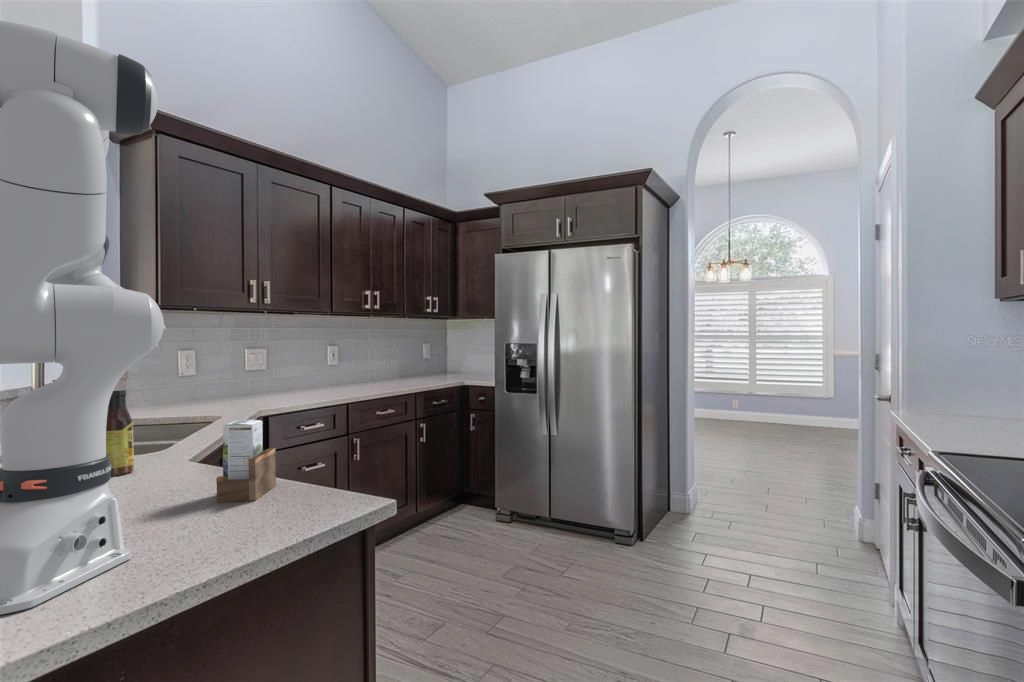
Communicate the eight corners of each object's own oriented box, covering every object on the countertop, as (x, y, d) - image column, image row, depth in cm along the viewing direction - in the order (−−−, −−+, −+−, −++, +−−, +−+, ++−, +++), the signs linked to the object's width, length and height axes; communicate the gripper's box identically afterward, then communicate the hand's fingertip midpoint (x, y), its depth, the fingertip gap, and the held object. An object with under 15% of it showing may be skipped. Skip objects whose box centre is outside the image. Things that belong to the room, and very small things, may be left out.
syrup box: (234, 490, 110) (232, 420, 110) (264, 488, 110) (262, 419, 110) (222, 498, 104) (221, 424, 104) (254, 496, 105) (252, 423, 105)
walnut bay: (256, 500, 102) (255, 459, 102) (216, 502, 101) (215, 460, 101) (276, 485, 113) (275, 448, 113) (240, 487, 112) (239, 449, 112)
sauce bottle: (136, 473, 126) (134, 389, 126) (103, 478, 121) (101, 391, 121) (131, 468, 130) (130, 388, 130) (99, 473, 126) (98, 390, 126)
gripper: (70, 284, 95) (129, 338, 95) (141, 294, 115) (189, 338, 116) (44, 309, 94) (103, 363, 95) (120, 314, 115) (168, 359, 115)
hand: (151, 349), depth 106 cm, fingers closed
